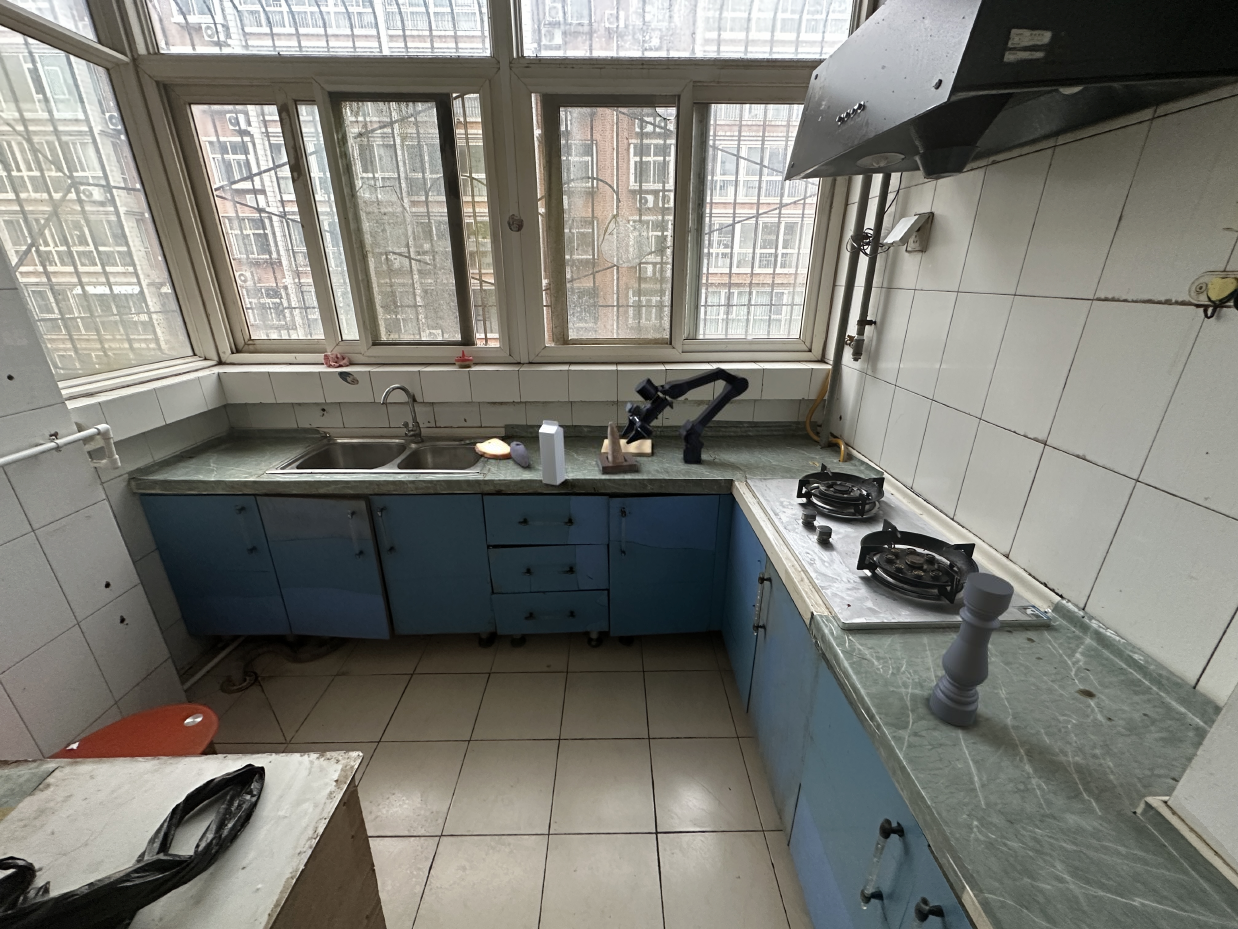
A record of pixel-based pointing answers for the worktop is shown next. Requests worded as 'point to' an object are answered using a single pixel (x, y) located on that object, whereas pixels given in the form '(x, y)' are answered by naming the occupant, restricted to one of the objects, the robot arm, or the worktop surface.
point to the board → (631, 447)
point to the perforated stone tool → (519, 453)
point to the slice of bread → (493, 449)
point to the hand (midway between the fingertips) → (624, 439)
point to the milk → (552, 453)
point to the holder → (617, 464)
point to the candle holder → (970, 649)
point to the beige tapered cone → (614, 445)
